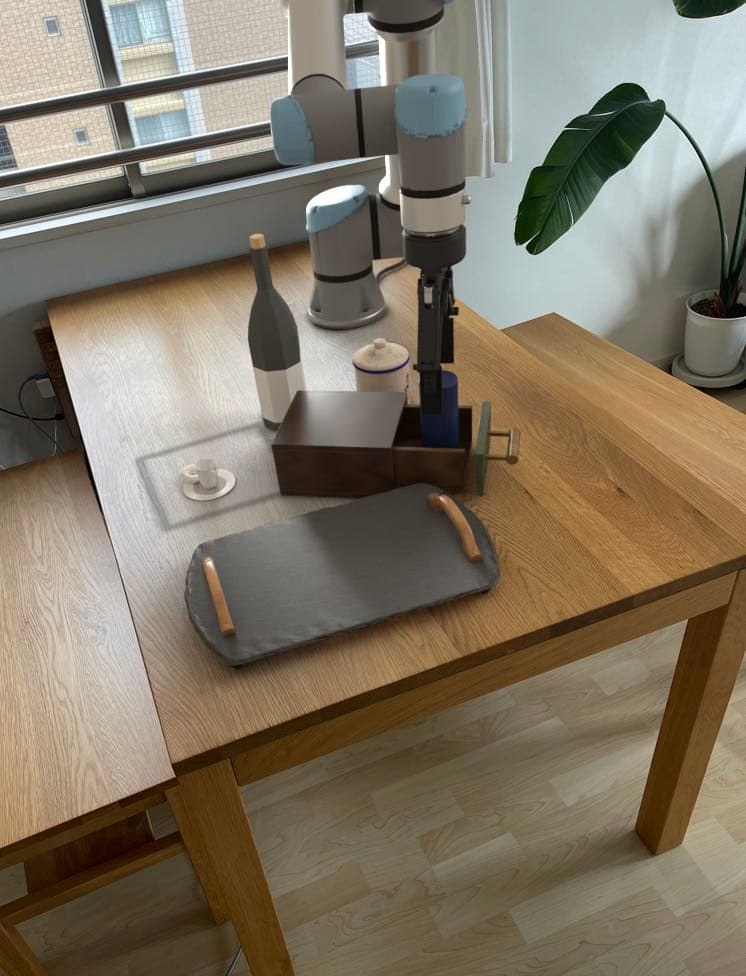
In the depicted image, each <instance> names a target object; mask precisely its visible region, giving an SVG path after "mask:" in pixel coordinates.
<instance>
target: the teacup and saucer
mask: <svg viewBox="0 0 746 976" xmlns="http://www.w3.org/2000/svg"><path fill="white" fill-rule="evenodd" d="M192 473H193V475H192ZM180 477H181V479H182V480H183V481H184V483H183V485H182V492H183V494H184V495H185V497H187V498H188V499H190V500H194V501H202V502H204V501H205V502H206V501H213V500H217V499H219V498H221V497H223V496H225V495H227V494H229V493H230V492H231V491H232V490H233V489H234V488H235V485H236V481H237V480H236V477H235V475H234V474H233V473H232V472H231V471H229V470H226V469H221V468H217V463H216V460H214V459H213V458H202V459H200V460H198V461H197V462H196V463H195V464H189V465H186V466H185V467H183V468H182V469H181V472H180ZM219 477H221V478H223V479H224V480H225V486H224V487H223V488H222V489H221V490H220V491H217V492H216V493H212V494H200V493H197V492H196V491H195V490H194V486H195V484H197V483H200V485H201V487H203V488H204V489H205V490H211V489H214V488H216V487H217V485H218V483H219V480H220V478H219Z"/></svg>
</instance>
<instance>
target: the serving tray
mask: <svg viewBox="0 0 746 976" xmlns="http://www.w3.org/2000/svg"><path fill="white" fill-rule="evenodd" d="M498 560H499V555H498V551H497V548H496V544H495V543H493V541H492V538H491V536H490V534H489V532H488V530H487V528H486V526H485V524H484V523H483V522H482V520H480V518H479V517H478V516H477V515H476V514H475V513H474V512H473V510H471V509H470V508H468V507H467V506H466V505H465V504H464V503H462V502H461V501H460V500H459V499H458V498H457V497H455V496H453V495H452V494H450V493H447V492H446V491H445V490H444V489H439V488H438V487H436V486H433V485H430V484H427V483H417V484H412V485H409V486H406V487H398V488H397V489H394V490H391V491H388V492H384V493H380V494H376V495H371V496H367V497H364V498H360V499H355V500H352V501H349V502H346V503H342V504H339V505H335V506H327V507H323V508H320V509H317V510H316V509H315V510H312V511H308V512H307V513H303V514H299V515H296V516H293V517H290V518H286V519H281V520H277V521H271V522H268V523H266V524H263V525H260V526H257V527H254V528H252V529H247V530H242V531H241V532H236V533H231V534H227V535H225V536H222V537H218V538H214V539H209V540H207V541H205V542H202V543H200V544H198V546H197V547H196V548H195V549H194V551H193V553H192V555H191V560H190V563H189V566H188V568H187V571H186V577H185V580H184V581H185V582H184V583H185V590H184V595H183V597H184V602H185V605H186V610H187V613H188V619H189V621H190V623H191V625H192V626H193V628H194V631H196V633H197V635H198V636H199V638H200V639H201V640H202V641H203V643H204V644H205V645H206V646H207V647H208V648H209V649H211V650H212V651H213V652H214V653H215V655H216V656H217V657H218V658H219V659H220V660H221V661H222V662H224V663H225V664H227V665H228V666H229V667H230V668H232V670H235V671H236V670H237V671H239V670H241V669H242V668H243V667H244V666H245V664H248V663H252V662H255V661H257V660H258V661H259V660H260V659H264V658H268V657H271V656H275V655H279V654H282V653H284V652H287V651H291V650H294V649H298V648H300V647H303V646H306V645H307V646H308V645H312V644H314V643H317V642H320V641H322V640H325V639H330V638H333V637H336V636H340V635H343V634H348V633H350V632H353V631H356V630H359V629H362V628H365V627H370V626H373V625H375V624H379V623H383V622H387V621H389V620H392V619H395V618H398V617H403V616H407V615H409V614H412V613H416V612H419V611H422V610H425V609H428V608H430V607H434V606H437V605H441V604H444V603H448V602H451V601H453V600H457V599H461V598H464V597H467V596H470V595H473V594H477V593H480V594H483V595H486V594H488V593H490V592H491V590H492V589H493V588H494V587H497V585H499V583H500V577H501V569H500V563H499V561H498Z"/></svg>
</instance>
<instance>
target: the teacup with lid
mask: <svg viewBox="0 0 746 976" xmlns="http://www.w3.org/2000/svg"><path fill="white" fill-rule="evenodd" d="M410 356H411V355H410V353H409V351H408V350H407V348H406V347H404V346H403V345H401V344H399V343H395V342H387V340H386V339H385V338H382V337H378V338H375V339H374V340H373V342H372V343H370V344H366V345H365V346H362V347H360V348H359V349H358V350H357V351H355V353H354V354H353V357H352V361H351V363H352V365H353V367H354V377H355V386H356V388H355V389H356V391H364V392H407V398H408V404H411V385H410V369H409V366H410V365H409V363H410V358H411V357H410Z"/></svg>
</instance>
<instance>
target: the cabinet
mask: <svg viewBox="0 0 746 976" xmlns="http://www.w3.org/2000/svg"><path fill="white" fill-rule="evenodd" d="M405 404H408V398H407V392H364V391H357V390H355V391H354V390H353V391H351V390H306V391H300V390H298V391H297V392H296V394H295V396H294V398H293V400H292V403H291V405H290V407H289V409H288V411H287V413H286V415H285V417H284V419H283V421H282V423H281V425H280V427H279V429H278V431H276V433H275V435H274V437H273V439H272V442H271V443H270V447H271V452H272V456H273V463H274V466H275V473H276V479H277V484H278V489H279V494H280V496H292V497H312V498H315V497H316V498H332V499H333V498H334V499H355V500H357V499H360V498H364V497H367V496H371V495H376V494H380V493H384V492H388V491H391V490H394V489H397V488H399V487H395V480H394V466H393V452H392V449H393V446H394V442H395V439H396V435H397V432H398V428H399V425H400V422H401V418H402V415H403V411H404V408H405Z"/></svg>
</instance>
